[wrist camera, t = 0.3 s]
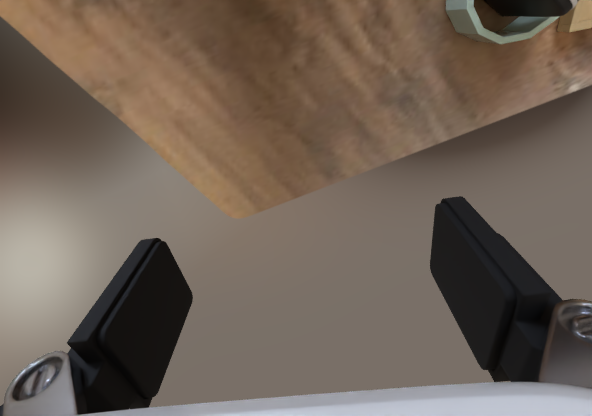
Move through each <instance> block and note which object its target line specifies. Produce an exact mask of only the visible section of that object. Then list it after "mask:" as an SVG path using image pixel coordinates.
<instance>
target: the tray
mask: <svg viewBox="0 0 592 416" xmlns="http://www.w3.org/2000/svg"><path fill="white" fill-rule="evenodd" d="M589 28H592V0H579V1H578V2H577V5H576V6H575V7H574V8H573V9H572V10H570V11H569V12H568V13H566V14H565V15H563V16H560V20H559V24H558V28H557V32H574V31H579V30H584V29H589Z"/></svg>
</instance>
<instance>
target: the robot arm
mask: <svg viewBox="0 0 592 416" xmlns="http://www.w3.org/2000/svg"><path fill="white" fill-rule="evenodd" d="M430 269H431V273H432V275H433V277H434V279H435V281H436V283H437V285H438V287H439V289H440V291H441V293H442V294H443V297H444V299H445V300H446V302H447V304H448V306H449V308H450V310H451V312H452V314H453V316H454V318H455V320H456V321H457V323H458V325H459V327H460V329H461V331H462V333H463V335H464V337H465V339H466V340H467V343H468V345H469V346H470V348H471V350H472V352H473V354H474V356H475V358H476V360H477V362H478V364H479V365H480V367H481V368H482V369H483V370H488V371H489V373H490V375H491V376H492V378H493V380H494V382H489V383H470V384H452V385H434V386H419V387H406V388H392V389H379V390H366V391H353V392H352V391H351V392H337V393H325V394H311V395H298V396H287V397H286V396H285V397H273V398H260V399H247V400H235V401H222V402H211V403H198V404H186V405H175V406H163V407H151V408H149V405H150V403H151V400H152V397H154V396H156V394H157V393H158V391H159V388H160V386H161V383H162V380H163V378H164V375H165V373H166V370H167V367H168V365H169V362H170V359H171V357H172V354H173V351H174V349H175V346H176V343H177V341H178V338H179V335H180V333H181V330H182V328H183V325H184V322H185V320H186V317H187V314H188V312H189V309H190V306H191V304H192V299H193V297H192V292H191V290H190V288H189V286H188V284H187V282H186V280H185V278H184V276H183V274H182V272H181V270H180V269H179V267H178V265H177V263H176V261H175V259H174V257H173V255H172V253H171V251H170V249H169V247H168V245H167V244H166V242H164V241H161V239H159V238H153V239H145V240H141V241H140V242H139V243H138V244H137V246H136V247H135V249H134V250H133V251H132V253H131V254H130V255H129V257H128V258H127V260H126V261H125V262H124V264H123V265H122V267H121V268H120V269H119V271H118V272H117V274H116V275H115V276H114V278H113V279H112V281H111V282H110V283H109V285H108V286H107V287H106V289H105V290H104V292H103V293H102V295H101V296H100V297H99V299H98V300H97V301H96V303H95V304H94V306H93V307H92V308H91V310H90V311H89V313H88V314H87V315H86V317H85V318H84V320H83V321H82V322H81V324H80V325H79V327H78V328H77V329H76V331H75V332H74V334H73V335H72V336H71V338H70V339H69V341H68V342H67V343H68V345H69V346H70V347H71V349H70V351H69V352H68V353H65V352H63V351H54V352H51V353H48V354H45V355H43V356H41V357H39V358H37V359H36V360H35V361H33V362H32V363H30V364H29V365H27V366H26V367H25V368H24V369H23V370H22V371H21V372H20V373H19V374H18V375H17V376H16V377H15V378H14V379H13V381H12V382H11V383H10V385H9V387H8V389H7V391H6V393H5V397H4V404H3V405H2V406H0V416H592V302H591V301H587V300H581V299H570V300H562V299H561V298H560V297H559V296H558V295H557V294H556V293H555V291H554V290H553V289H552V288H551V287H550V286H549V285H548V284H547V283H546V282H545V281H544V280H543V279H542V278H541V277H540V275H538V273H537V272H536V271H535V270H534V269H533V268H532V267H531V266H530V265H529V264H528V263H527V262H526V261H525V260H524V258H523V257H522V256H521V255H520V254H519V253H518V252H517V251H516V250H515V249H514V248H513V247H512V246H511V245H510V244H509V242H508V241H507V240H506V239H505V238H504V237H503V236H501V235H500V234H498V233H496V232H495V231H494V230H493V229H492V228H491V227H490V225H488V223H487V222H486V221H485V220H484V219H483V218H482V217H481V216H480V215H479V214H478V212H476V210H475V209H474V208H473V207H472V206H471V205H470V204H469V203H468V202H467V201H466V200H465V198H463V197H452V198H445V199H442V201H441V204H437V205H436V207H435V217H434V227H433V238H432V249H431V260H430ZM500 381H511V382H500ZM129 408H130V409H129Z"/></svg>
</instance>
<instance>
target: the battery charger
mask: <svg viewBox="0 0 592 416" xmlns="http://www.w3.org/2000/svg"><path fill="white" fill-rule="evenodd" d="M485 1H486V2H487V3H488V4H489V5H490V6H491V7H492V8H493V9H494V10H495V11H496V12H498V13H499V14H500V15H501V16H502V17H504V16H524V17H557V16H563V15H565V14H566V13H568V12H569V11H570V10H572V9H573V8H574V7H575V6H576V5H577V2H578V1H579V0H485Z"/></svg>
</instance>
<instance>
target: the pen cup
mask: <svg viewBox="0 0 592 416" xmlns="http://www.w3.org/2000/svg"><path fill="white" fill-rule="evenodd" d="M446 12H447V14H448V16H449V18H450V20H451V22H452V24H453V26H454V28H455V30H456V32H457V33H459V34H461V35H464V36H466V37H468V38H470V39H473V40H475V41H478V42H486V43H494V44H506V43H510V42H515V41H520V40H525V39H530V38H531V37H533V36H534V35H535V34H537V33H538V32H539V31H541V30H542V29H544V28H545V27H546V26H548V25H549V24H550V23H552V22H553V21H555V20H556V19H557V18H559V16H557V17H524V16H519V17H518V18H517V19H515V20H514V21H513V22H512V23H510V24H509V25H508V26H506V27H505V28H504V29H502V30H500V31H496V32H491V31H489V30H487V29H485V28H483V26H482V24H481V21H480V19H479V17H478V15H477V13H476V10H475V8H474V0H446Z"/></svg>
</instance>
